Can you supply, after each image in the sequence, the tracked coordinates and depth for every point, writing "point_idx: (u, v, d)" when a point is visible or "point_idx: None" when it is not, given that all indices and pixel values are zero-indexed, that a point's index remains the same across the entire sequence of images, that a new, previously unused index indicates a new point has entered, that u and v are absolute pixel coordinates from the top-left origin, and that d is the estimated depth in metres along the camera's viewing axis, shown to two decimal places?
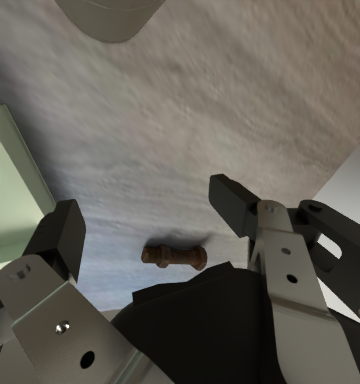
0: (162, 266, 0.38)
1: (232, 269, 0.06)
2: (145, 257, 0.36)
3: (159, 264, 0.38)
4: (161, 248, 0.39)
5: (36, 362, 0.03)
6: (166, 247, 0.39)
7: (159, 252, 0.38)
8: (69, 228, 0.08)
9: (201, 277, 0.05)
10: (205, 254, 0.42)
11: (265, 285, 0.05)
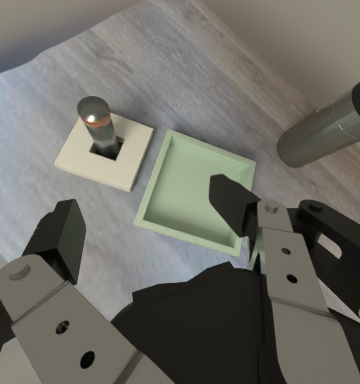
0: None
1: (232, 269, 0.06)
2: None
3: None
4: None
5: (36, 362, 0.03)
6: None
7: None
8: (69, 228, 0.08)
9: (201, 277, 0.05)
10: None
11: (265, 285, 0.05)
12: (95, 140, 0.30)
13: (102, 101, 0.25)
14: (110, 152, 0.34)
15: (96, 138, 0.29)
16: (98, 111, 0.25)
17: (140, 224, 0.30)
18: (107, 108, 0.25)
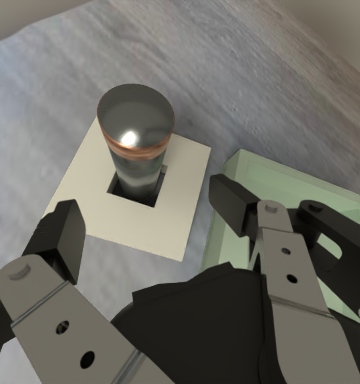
0: None
1: (232, 269, 0.06)
2: None
3: None
4: None
5: (36, 362, 0.03)
6: None
7: None
8: (69, 228, 0.08)
9: (201, 277, 0.05)
10: None
11: (265, 285, 0.05)
12: (126, 178, 0.14)
13: (158, 96, 0.10)
14: (145, 193, 0.19)
15: (130, 176, 0.13)
16: (150, 121, 0.10)
17: None
18: (171, 113, 0.10)
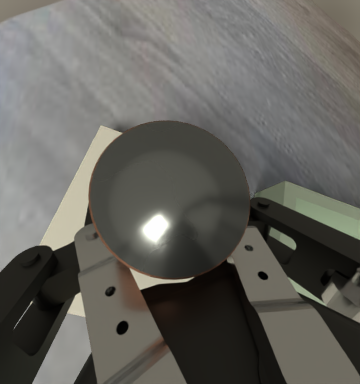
0: None
1: None
2: None
3: None
4: None
5: (87, 311, 0.04)
6: None
7: None
8: None
9: (201, 277, 0.05)
10: None
11: None
12: None
13: (214, 146, 0.05)
14: None
15: None
16: (205, 205, 0.04)
17: None
18: (242, 182, 0.05)
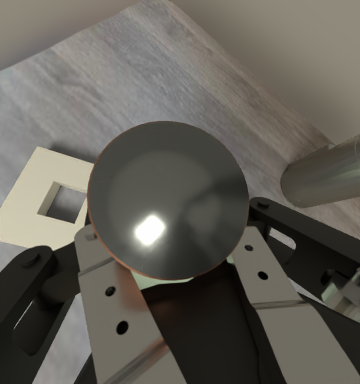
0: None
1: None
2: None
3: None
4: None
5: (87, 311, 0.04)
6: None
7: None
8: None
9: (201, 277, 0.05)
10: None
11: None
12: None
13: (213, 146, 0.05)
14: None
15: None
16: (203, 205, 0.04)
17: None
18: (241, 183, 0.05)
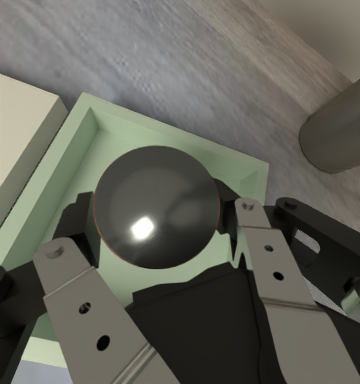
0: None
1: (232, 269, 0.06)
2: None
3: None
4: None
5: (60, 335, 0.04)
6: None
7: None
8: (91, 216, 0.08)
9: (200, 277, 0.05)
10: None
11: None
12: None
13: (191, 165, 0.06)
14: None
15: None
16: (182, 212, 0.06)
17: None
18: (214, 193, 0.06)
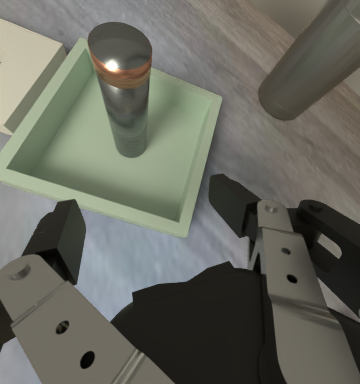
0: None
1: (232, 269, 0.06)
2: None
3: None
4: None
5: (36, 362, 0.03)
6: None
7: None
8: (69, 228, 0.08)
9: (200, 277, 0.05)
10: None
11: (265, 285, 0.05)
12: (115, 121, 0.17)
13: (138, 33, 0.12)
14: (135, 145, 0.21)
15: (119, 115, 0.16)
16: (131, 51, 0.12)
17: None
18: (149, 47, 0.12)
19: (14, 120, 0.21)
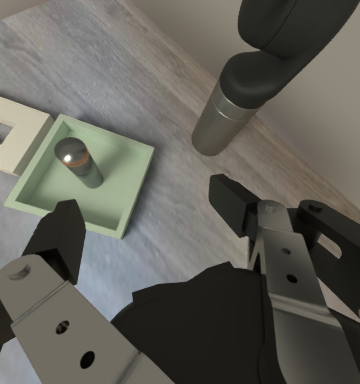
0: None
1: (232, 269, 0.06)
2: None
3: None
4: None
5: (36, 362, 0.03)
6: None
7: None
8: (69, 228, 0.08)
9: (201, 277, 0.05)
10: None
11: (265, 285, 0.05)
12: (75, 175, 0.30)
13: (80, 142, 0.26)
14: (92, 183, 0.34)
15: (76, 174, 0.29)
16: (75, 152, 0.25)
17: (11, 205, 0.30)
18: (84, 148, 0.26)
19: (18, 167, 0.34)
